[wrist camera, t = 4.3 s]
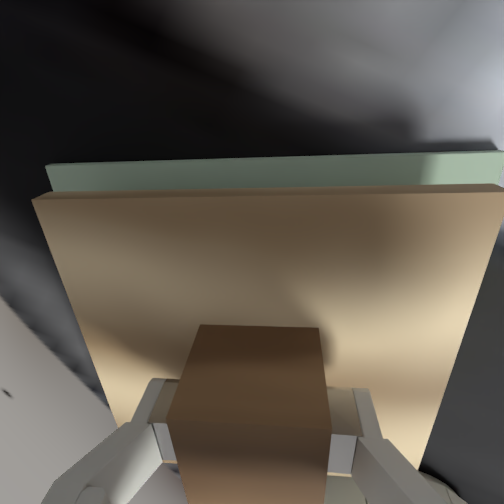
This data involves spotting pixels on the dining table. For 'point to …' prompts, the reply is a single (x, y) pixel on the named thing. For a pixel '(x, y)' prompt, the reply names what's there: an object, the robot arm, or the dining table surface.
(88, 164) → the mat
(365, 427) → the robot arm
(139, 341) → the lid
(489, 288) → the dining table surface
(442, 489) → the pipe section
